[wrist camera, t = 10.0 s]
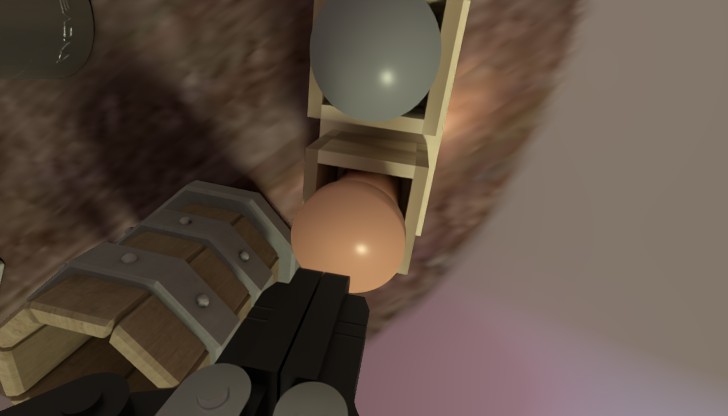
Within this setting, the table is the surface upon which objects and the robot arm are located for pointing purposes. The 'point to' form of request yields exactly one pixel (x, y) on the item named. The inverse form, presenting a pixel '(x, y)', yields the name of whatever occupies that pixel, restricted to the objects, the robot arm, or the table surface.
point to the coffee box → (1, 269)
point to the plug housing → (390, 132)
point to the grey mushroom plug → (375, 56)
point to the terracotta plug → (352, 229)
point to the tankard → (150, 296)
